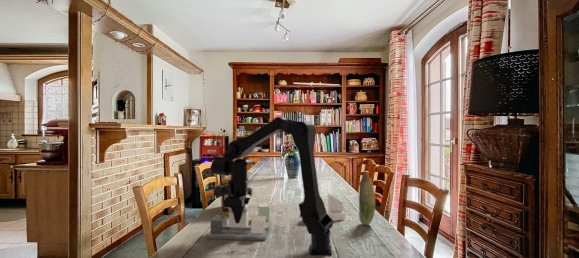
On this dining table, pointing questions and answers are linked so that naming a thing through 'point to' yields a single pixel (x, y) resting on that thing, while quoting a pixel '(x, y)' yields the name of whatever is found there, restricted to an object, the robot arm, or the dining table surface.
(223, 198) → the supplement box
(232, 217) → the block
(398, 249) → the dining table surface
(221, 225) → the rail
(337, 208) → the white angled block
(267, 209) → the green block
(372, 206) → the vegetable
